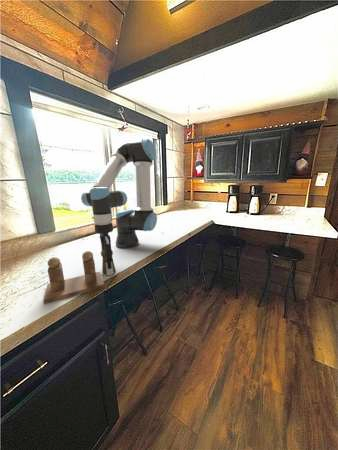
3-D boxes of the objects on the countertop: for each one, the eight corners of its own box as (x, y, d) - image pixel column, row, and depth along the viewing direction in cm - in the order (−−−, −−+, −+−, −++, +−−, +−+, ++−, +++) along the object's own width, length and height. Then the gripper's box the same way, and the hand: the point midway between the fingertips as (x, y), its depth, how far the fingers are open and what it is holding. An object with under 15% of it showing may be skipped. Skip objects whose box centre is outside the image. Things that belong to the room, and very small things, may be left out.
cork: (118, 271, 85) (116, 248, 82) (106, 276, 81) (103, 252, 78) (111, 267, 89) (109, 246, 86) (99, 272, 85) (96, 249, 82)
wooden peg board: (100, 274, 82) (96, 245, 79) (104, 287, 72) (100, 254, 69) (48, 287, 73) (41, 254, 70) (44, 303, 63) (36, 266, 60)
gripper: (92, 220, 86) (97, 265, 91) (97, 228, 69) (103, 283, 74) (108, 218, 90) (112, 262, 95) (116, 226, 73) (121, 278, 78)
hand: (108, 271), depth 85 cm, fingers open, 7 cm apart
